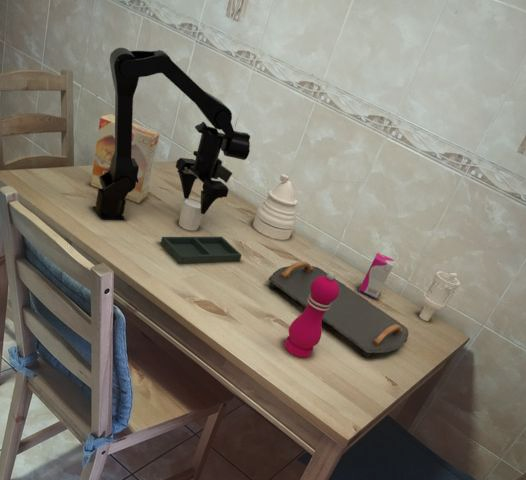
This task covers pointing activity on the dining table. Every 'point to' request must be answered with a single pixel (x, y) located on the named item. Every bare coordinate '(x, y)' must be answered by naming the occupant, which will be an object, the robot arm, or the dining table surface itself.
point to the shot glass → (190, 214)
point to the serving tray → (344, 310)
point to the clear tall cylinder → (438, 293)
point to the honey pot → (277, 211)
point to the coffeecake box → (141, 152)
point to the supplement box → (377, 275)
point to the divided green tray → (200, 249)
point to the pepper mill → (312, 316)
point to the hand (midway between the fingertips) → (194, 206)
